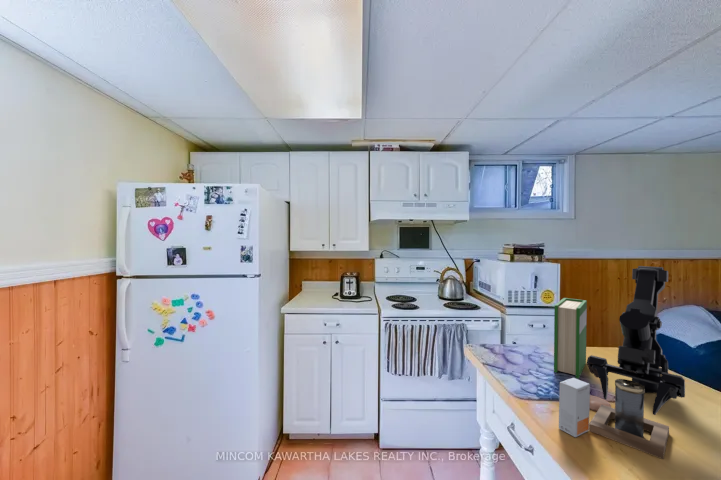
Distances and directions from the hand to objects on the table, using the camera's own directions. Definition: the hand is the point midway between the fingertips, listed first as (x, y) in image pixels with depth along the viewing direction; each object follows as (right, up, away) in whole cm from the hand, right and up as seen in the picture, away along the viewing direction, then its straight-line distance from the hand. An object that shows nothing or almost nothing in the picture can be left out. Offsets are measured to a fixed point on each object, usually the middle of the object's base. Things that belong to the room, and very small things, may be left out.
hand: (628, 406), depth 77 cm
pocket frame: (+1, -7, +1) cm, 7 cm away
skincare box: (-12, -7, +2) cm, 14 cm away
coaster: (+2, -7, +14) cm, 16 cm away
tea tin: (+1, -7, +1) cm, 7 cm away
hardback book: (+12, -7, +39) cm, 42 cm away
